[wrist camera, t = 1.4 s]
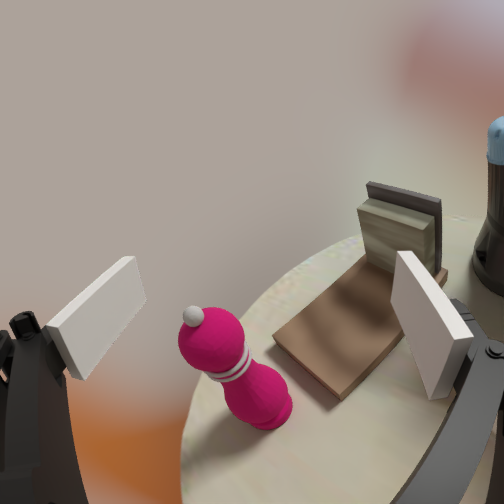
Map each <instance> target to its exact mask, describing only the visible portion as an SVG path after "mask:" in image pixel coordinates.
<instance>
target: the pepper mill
mask: <svg viewBox="0 0 504 504" xmlns="http://www.w3.org/2000/svg"><path fill="white" fill-rule="evenodd" d="M183 320H184V323H183V325H182V327H181V329H180V332H179V336H178V344H179V348H180V352H181V354H182V356H183V357H184V358H185V360H186V361H187V362H188V363H189V364H190V365H191V366H193V367H194V368H196V369H199V370H202V371H204V372H205V373H206V374H207V375H208V377H209V378H211V379H212V380H214V381H217V382H220V383H221V384H222V386H223V388H224V395H225V400H226V403H227V405H228V407H229V409H230V410H231V412H232V413H233V414H234V415H235V416H236V417H237V418H238V419H240V420H242V421H244V422H247V423H250V424H251V425H252V426H254V427H256V428H258V429H262V430H270V429H274V428H277V427H279V426H280V425H282V424H283V423H284V422H285V421H286V420H287V419H288V418H289V416H290V414H291V412H292V407H293V406H292V399H291V397H290V395H289V394H288V388H287V385H286V382H285V380H284V379H283V378H282V377H281V375H280V374H279V373H278V372H277V371H275V370H274V369H272V368H270V367H268V366H266V365H262V364H258V363H256V362H255V361H254V360H253V359H252V351H251V348H250V347H249V345H248V344H247V342H246V341H245V336H244V330H243V327H242V326H241V324H240V322H239V321H238V320H237V319H236V317H235V316H234V315H233V314H231V313H230V312H228V311H226V310H224V309H221V308H216V307H210V308H204V309H200V308H199V307H197V306H189V307H187V308H186V309H185V310H184V312H183Z"/></svg>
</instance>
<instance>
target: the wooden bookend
mask: <svg viewBox="0 0 504 504" xmlns="http://www.w3.org/2000/svg"><path fill="white" fill-rule="evenodd" d="M366 187H367V192H368V197H369V199H368V200H366V201H365V202H364V203H363V204H362V205H360V206H359V207H358V208H357V212H358V216H359V221H360V226H361V230H362V236H363V241H364V246H365V252H366V254H365V255H363V256H362V257H361V258H360V259H359V260H358V261H357V262H356V263H355V264H354V265H353V266H352V267H351V268H350V269H348V270H347V271H346V272H345V273H344V274H343V275H342V276H341V277H340V278H339V279H337V280H336V281H335V282H334V283H333V284H332V285H331V286H330V287H328V288H327V289H326V290H325V291H324V292H323V293H322V294H320V295H319V296H318V297H317V298H316V299H315V300H314V301H312V302H311V303H310V304H309V305H308V306H307V307H305V308H304V309H303V310H302V311H301V312H300V313H298V314H297V315H296V316H295V317H294V318H292V319H291V320H290V321H289V322H288V323H286V324H285V325H284V326H283V327H282V328H280V329H279V330H278V331H277V332H275V333H274V334H273V335H272V337H273V338H274V340H275V342H276V343H277V344H278V345H279V346H280V347H281V348H282V349H283V350H284V351H285V352H286V353H287V354H289V355H290V356H291V357H292V358H293V359H294V360H295V361H296V362H297V363H299V364H300V365H301V366H302V367H303V368H304V369H305V370H306V371H308V372H309V373H310V374H311V375H312V376H313V377H314V378H316V379H317V380H318V381H319V382H320V383H321V384H322V385H324V386H325V387H326V388H327V389H328V390H329V391H330V392H332V393H333V394H334V395H335V396H336V397H337V398H339V399H340V400H341V401H342V400H343V399H344V398H345V397H347V396H348V395H349V394H350V393H351V392H352V391H353V390H354V389H355V388H356V387H357V386H358V385H359V384H360V383H361V382H362V381H363V380H364V379H365V378H366V377H367V376H368V375H369V374H370V373H371V372H372V371H373V370H374V369H375V368H376V367H377V365H378V364H379V363H380V362H381V361H382V360H383V359H384V358H385V357H386V356H387V355H388V354H389V352H390V351H391V350H392V349H393V348H394V347H395V346H396V344H397V343H398V342H399V341H400V340H401V339H402V338H403V336H404V335H405V334H404V332H403V329H402V327H401V325H400V322H399V320H398V317H397V315H396V313H395V311H394V308H393V306H392V304H391V302H390V301H391V295H392V288H393V281H394V273H395V265H396V257H397V251H412V252H413V253H414V255H415V256H416V257H417V258H418V259H419V261H420V262H421V263H422V265H423V266H424V267H425V268H426V270H427V271H428V272H429V273H430V275H431V276H432V277H433V279H434V280H435V281H436V283H437V284H438V285H439V287H440V288H442V286H443V285H444V284H445V282H446V281H447V276H448V270H447V269H444V268H442V267H441V261H442V207H441V199H439V198H435V197H432V196H428V195H424V194H421V193H417V192H413V191H409V190H405V189H401V188H397V187H393V186H388V185H383V184H379V183H375V182H371V181H369V182H368V183H367V184H366Z"/></svg>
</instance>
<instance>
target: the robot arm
mask: <svg viewBox="0 0 504 504" xmlns="http://www.w3.org/2000/svg"><path fill="white" fill-rule="evenodd" d="M487 159H488V209H487V217H486V220H485V222H484V224H483V226H482V229H481V231H480V233H479V235H478V237H477V240H476V242H475V246H474V253H473V266H474V269H475V272H476V274H477V276H478V277H479V279H480V280H481V281H482V282H483V284H484V285H485V286H487V287H488V288H489V289H490V290H492V291H493V292H495V293H497V294H499V295H501V296H503V297H504V116H502V117H500V118H498V119H496V120H494V121H493V122H492V124H491V125H490V127H489V129H488V151H487ZM146 301H147V300H146V296H145V293H144V289H143V285H142V281H141V277H140V274H139V269H138V266H137V261H136V257H135V256H124V257H122V258H121V259H120V260H119V261H118V262H116V263H115V264H114V265H113V266H111V268H109V269H108V270H107V271H106V272H104V273H103V274H102V275H101V276H100V277H98V278H97V279H96V280H95V281H94V282H93V283H92V284H90V285H89V286H88V287H87V288H86V289H85V290H84V291H82V292H81V293H80V294H79V295H78V296H77V297H76V298H75V299H73V300H72V301H71V302H70V303H69V304H68V305H67V306H66V307H65V308H64V309H63V310H61V311H60V312H59V313H58V314H57V315H56V316H55V317H54V318H53V319H52V320H51V321H49V322H48V323H47V324H46V325H45V326H44V327H43V328H42V329H40V327H39V324H38V322H37V320H36V318H35V316H34V313H33V312H32V311H26V312H22V313H19V314H18V315H16V316H14V317H13V318H12V319H11V320H10V322H9V325H10V327H11V329H12V331H13V333H14V335H15V337H16V339H11V337H10V335H9V333H8V331H6V330H1V331H0V369H2V371H3V373H4V374H5V376H6V377H7V380H6V382H5V381H4V380H3V379H2V377H1V376H0V504H89V503H88V500H87V497H86V493H85V490H84V486H83V482H82V478H81V474H80V470H79V465H78V461H77V456H76V451H75V446H74V441H73V435H72V428H71V422H70V415H69V407H68V398H67V387H66V378H65V375H64V374H63V370H64V369H65V368H66V367H67V369H68V371H69V372H70V374H71V376H72V377H73V378H76V379H79V380H83V381H85V380H86V378H87V377H88V376H89V374H90V373H91V372H92V370H93V369H94V368H95V366H96V365H97V364H98V362H99V361H100V360H101V358H102V357H103V356H104V355H105V353H106V352H107V351H108V349H109V348H110V347H111V345H112V344H113V343H114V342H115V340H116V339H117V338H118V336H119V335H120V334H121V332H122V331H123V330H124V329H125V328H126V326H127V325H128V324H129V322H130V321H131V320H132V319H133V317H134V316H135V315H136V313H137V312H138V311H139V310H140V308H141V307H142V306H143V305H144V304H145V303H146ZM390 302H391V304H392V306H393V308H394V311H395V313H396V315H397V317H398V320H399V322H400V325H401V327H402V329H403V332H404V334H405V337H406V339H407V341H408V344H409V346H410V349H411V352H412V354H413V357H414V359H415V362H416V365H417V367H418V370H419V373H420V375H421V378H422V381H423V384H424V387H425V389H426V392H427V395H428V398H429V401H430V400H436V399H441V398H446V397H448V395H449V393H450V391H451V389H452V387H453V386H454V388H455V391H456V393H457V394H456V396H455V398H454V400H453V402H452V404H451V406H450V407H449V409H448V411H447V414H446V416H445V418H444V420H443V422H442V424H441V426H440V428H439V430H438V431H437V433H436V435H435V437H434V438H433V440H432V442H431V444H430V445H429V447H428V449H427V450H426V452H425V454H424V455H423V457H422V458H421V460H420V462H419V463H418V465H417V466H416V468H415V469H414V471H413V472H412V474H411V475H410V477H409V478H408V480H407V481H406V482H405V484H404V485H403V487H402V488H401V489H400V491H399V492H398V493H397V495H396V496H395V497H394V499H393V500H392V501H391V502H390V504H459V502H460V501H461V499H462V497H463V495H464V493H465V491H466V489H467V487H468V485H469V483H470V481H471V479H472V477H473V475H474V473H475V470H476V468H477V466H478V464H479V461H480V459H481V457H482V454H483V452H484V449H485V447H486V444H487V441H488V439H489V436H490V433H491V430H492V427H493V424H494V421H495V418H496V415H497V412H498V419H497V434H496V444H495V453H494V461H493V468H492V474H491V480H490V485H489V490H488V495H487V499H486V503H485V504H504V344H503V343H501V342H499V341H497V340H492V339H490V340H489V339H488V337H487V336H486V334H485V333H484V331H483V330H482V328H481V327H480V326H479V324H478V323H477V321H476V320H475V319H474V317H473V316H472V314H470V312H469V310H468V309H467V308H466V306H465V305H464V304H462V303H461V302H460V301H458V300H457V299H448V298H447V296H446V295H445V293H444V292H443V291H442V289H441V288H440V287H439V285H438V284H437V283H436V281H435V280H434V279H433V277H432V276H431V275H430V273H429V272H428V271H427V270H426V268H425V267H424V266H423V265H422V263H421V262H420V261H419V259H418V258H417V257H416V256H415V255H414V253H413V252H412V251H397V257H396V265H395V273H394V281H393V288H392V295H391V301H390Z"/></svg>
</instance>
